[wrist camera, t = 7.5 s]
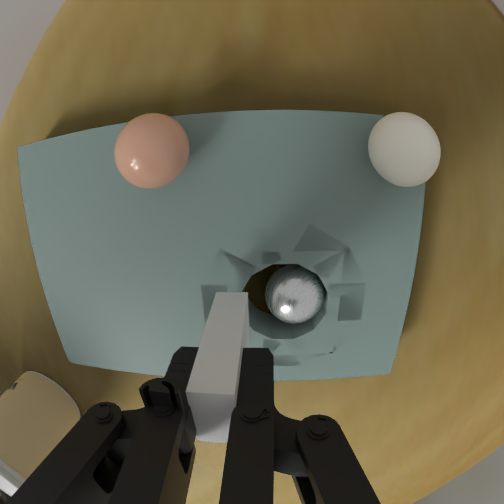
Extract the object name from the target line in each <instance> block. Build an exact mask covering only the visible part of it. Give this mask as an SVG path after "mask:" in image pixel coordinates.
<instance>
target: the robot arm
mask: <svg viewBox="0 0 504 504" xmlns="http://www.w3.org/2000/svg"><path fill="white" fill-rule="evenodd" d="M249 341H250V335H249V310H248V292H216V294H215V297H214V301H213V304H212V307H211V310H210V313H209V317H208V320H207V323H206V326H205V329H204V333H203V336H202V339H201V342H200V346H199V347H186V346H181V347H180V348H179V349H178V350H177V351H176V352H175V353H174V354H173V356H172V359H171V361H170V364H169V367H168V369H167V372H166V374H165V377H164V378H155V379H152V380H149V381H147V382H145V383H144V384H143V385H142V386H141V387H140V389H139V391H140V394H141V397H142V400H143V402H144V405H145V407H144V408H141V409H136V410H127V411H121V409H120V408H119V406H117V405H116V404H114V403H111V402H101V403H98V404H95V405H94V406H92V407H91V408H90V409H89V410H88V411H87V412H86V413H85V414H84V415H83V417H82V418H81V419H80V420H79V421H78V422H77V423H76V424H75V425H74V426H73V428H72V429H71V430H70V431H69V432H68V433H67V434H66V435H65V437H64V438H63V439H62V440H61V441H60V442H59V443H58V444H57V445H56V447H55V448H54V449H53V450H52V451H51V452H50V453H49V454H48V456H47V457H46V458H45V459H44V460H43V461H42V462H41V463H40V465H39V466H38V467H37V468H36V469H35V470H34V471H33V473H32V474H31V475H30V476H29V477H28V478H27V479H26V480H25V482H24V483H23V484H22V485H21V486H20V487H19V488H18V490H17V491H16V492H15V493H14V494H13V495H12V496H9V495H8V494H6V493H5V492H4V491H2V490H1V489H0V504H185V503H186V498H187V493H188V488H189V483H190V478H191V473H192V468H193V464H194V459H195V454H196V450H195V445H194V441H195V437H196V435H197V439H198V441H205V442H218V443H227V449H226V456H225V464H224V471H223V478H222V486H221V493H220V500H219V504H273V484H274V471H277V472H280V473H284V474H288V475H292V478H293V480H294V483H295V486H296V489H297V492H298V495H299V497H300V500H301V503H302V504H380V502H379V500H378V498H377V496H376V494H375V492H374V490H373V488H372V486H371V485H370V483H369V481H368V479H367V477H366V475H365V473H364V471H363V469H362V467H361V466H360V464H359V462H358V460H357V458H356V456H355V454H354V452H353V450H352V448H351V447H350V445H349V443H348V441H347V439H346V437H345V435H344V433H343V431H342V429H341V428H340V426H339V424H338V423H337V422H336V421H335V420H334V419H332V418H331V417H329V416H325V415H311V416H309V417H306V418H304V419H303V420H302V421H299V420H295V419H291V418H288V417H285V416H284V415H282V414H280V413H279V412H278V411H277V409H276V407H275V405H274V356H273V354H272V353H271V351H270V350H269V348H249Z"/></svg>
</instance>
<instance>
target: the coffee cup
mask: <svg viewBox="0 0 504 504" xmlns="http://www.w3.org/2000/svg"><path fill="white" fill-rule="evenodd" d="M80 416H81V415H80V411H79V408H78V406H77V404H76V403H75V401H74V400H73V398H72V397H71V396H70V395H69V394H68V393H67V392H66V391H65V390H64V389H63V388H62V387H61V386H60V385H58V384H57V383H56V382H55V381H53V380H52V379H50V378H48V377H47V376H45V375H43V374H41V373H38V372H35V371H27V372H25V373H23V374H22V375H21V376H20V377H19V378H18V379H17V380H16V381H15V382H14V383H13V384H12V385H11V386H10V387H9V388H8V389H7V390H6V391H5V392H4V393H3V394H2V396H1V397H0V489H1V490H2V491H4V492H5V493H6V494H8V495H9V496H12V495H13V494H14V493H15V492H16V491H17V490H18V488H19V487H20V486H21V485H22V484H23V483H24V482H25V480H26V479H27V478H28V477H29V476H30V475H31V474H32V473H33V471H34V470H35V469H36V468H37V467H38V466H39V465H40V463H41V462H42V461H43V460H44V459H45V458H46V457H47V456H48V454H49V453H50V452H51V451H52V450H53V449H54V448H55V447H56V445H57V444H58V443H59V442H60V441H61V440H62V439H63V438H64V437H65V435H66V434H67V433H68V432H69V431H70V430H71V429H72V428H73V426H74V425H75V424H76V423H77V422H78V421H79V420H80Z"/></svg>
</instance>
